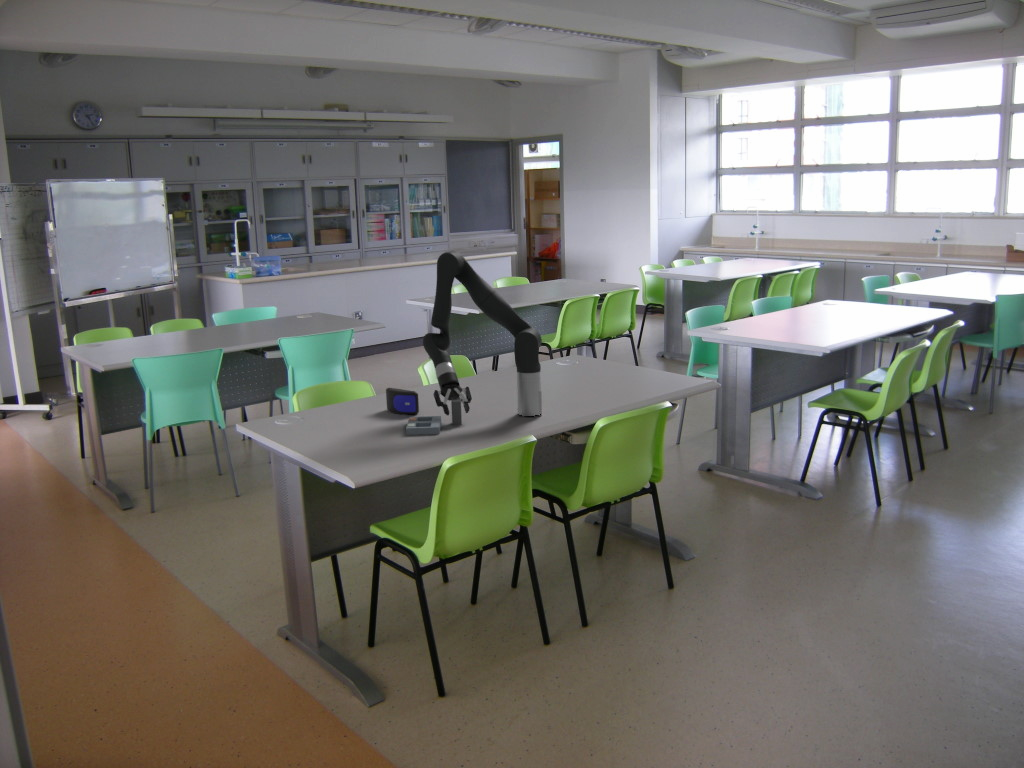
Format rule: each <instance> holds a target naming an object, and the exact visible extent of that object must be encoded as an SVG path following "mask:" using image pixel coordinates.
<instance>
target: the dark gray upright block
mask: <svg viewBox="0 0 1024 768" xmlns="http://www.w3.org/2000/svg"><path fill="white" fill-rule="evenodd" d="M450 403H451V423H452V424H451V425H452V426H462V424H463V420H462V419H463V418H462V402H461V399H454V400H451V401H450Z"/></svg>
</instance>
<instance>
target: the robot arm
mask: <svg viewBox="0 0 1024 768" xmlns="http://www.w3.org/2000/svg"><path fill="white" fill-rule="evenodd" d="M455 279H456V280H457V281H458V282H459V283H460V284H461V285H462V286H463V287H464V288H465V290H466V291H467V292H468V294H469V296H470V297H471V300H472V301H473V303H474V304H475V305H476V306H477V307H478V309H479V310H481V312H482V313H483V314H484V315H486V316H487V317H488V318H489V319H490V320H492V321H493V322H495V323H496V324H498V325H500V326H501V327H503V328H505V329H506V330H507V331H508V332H509V333H510V334H511V335H512V336H513V337H514V338H515V339H514V345H513V346H514V347H513V348H514V349H513V350H514V361H515V366H516V390H517V391H516V395H517V397H516V399H517V402H516V403H517V415H518V414H519V415H522V416H521V417H524V416H534V417H536V416H535V415H539V414H542V415H543V408H542V407H543V405H542V404H543V399H542V381H541V379H542V378H541V376H542V375H541V372H542V371H541V369H542V368H541V363H540V361H539V359H540V357H539V348H540V347H541V345H542V342H543V341H542V340H543V339H542V336H541V334H540V332H539V331H538V330H536V329H535V328H534V327H533V326H532V325H531V324H529V322H527V321H526V320H525V319H523V318H522V317H521V316H520V315H519V314H518V313H517V312H516V310H515V309H513V307H512V306H511V305H510V304H509V303H508V302H507V301H506V300H505V299H504V298H503V296H502V295H500V294H499V292H497V290H495V288H493V287H492V286H491V285H490V283H488V282H487V281H486V280H485V279H484V278H482V276H481V275H480V274H478V273H477V272H476V270H475V269H474V268H473V267H472V266H471V264H470V263H469V262H468V261H467V259H466V258H465V257H464V256H463V255H462V254H461V253H460V252H458V251H455V250H451V251H445V252H444V253H442V254H440V255H439V256H438V258H437V261H436V283H435V284H436V287H435V298H434V302H433V308H432V313H431V320H430V325H431V326H432V327H433V328H435V329H438V330H439V332H438V333H437V332H436V333H435V332H427V333H426V334H424V336H423V338H422V345H423V348H424V350H425V352H426V353H427V355H428V357H429V358H430V359H431V361H432V364H433V366H434V370H435V375H436V379H437V382H438V386H439V389H440V390H437V389H435V390H434V392H433V398H434V400H435V403H436V404H435V405H436V406H437V407H438V408H439V407H442V410H443V413H444V415H446V416H450V409H449V405H448V404H447V403H448V401H449V402H451V400H454V399H461V404H463V406H462V407H463V409H464V411H465V412H464V413H466V414H468V413H469V411H470V408H471V407H470V405H469V404H470V403H471V401H472V398H473V397H472V394H471V390H470V387H469V386H466V387H463V388H462V387H461V385H460V381H459V379H458V375H457V371H456V369H455V367H454V364H453V362H452V357H451V355H450V353H449V352H447V351H448V350H449V348H450V346H451V338H450V336H451V335H450V321H451V314H452V306H453V305H452V303H453V302H452V291H453V284H454V281H455ZM441 396H442V397H443V398H444V399H443V401H442V399H441ZM519 415H518V416H519ZM539 416H540V415H539Z"/></svg>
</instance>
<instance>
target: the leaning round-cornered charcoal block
mask: <svg viewBox="0 0 1024 768" xmlns="http://www.w3.org/2000/svg"><path fill="white" fill-rule="evenodd" d="M385 395H386V396H385V397H386V399H385V401H386V410H387V412H390V413H392V412H393V414H396V413H397V414H396V415H403V414H408V415H407V416H414V414H416V415H418V414H419V411H420V407H419V406H420V403H419V393H418V392H417V391H415V390H409V389H401V388H395V387H387V388H385Z"/></svg>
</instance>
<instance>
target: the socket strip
mask: <svg viewBox="0 0 1024 768" xmlns="http://www.w3.org/2000/svg"><path fill="white" fill-rule="evenodd" d="M441 427H442V415H427V416H426V415H425V416H424V415H423V416H409V417H408V420H407V424H406V427H405V432H406V433H405V435H406V436H417V435H419V434H420V435H421V434H423V435H440V433H441ZM420 435H419V436H420ZM421 436H422V435H421Z"/></svg>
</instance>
